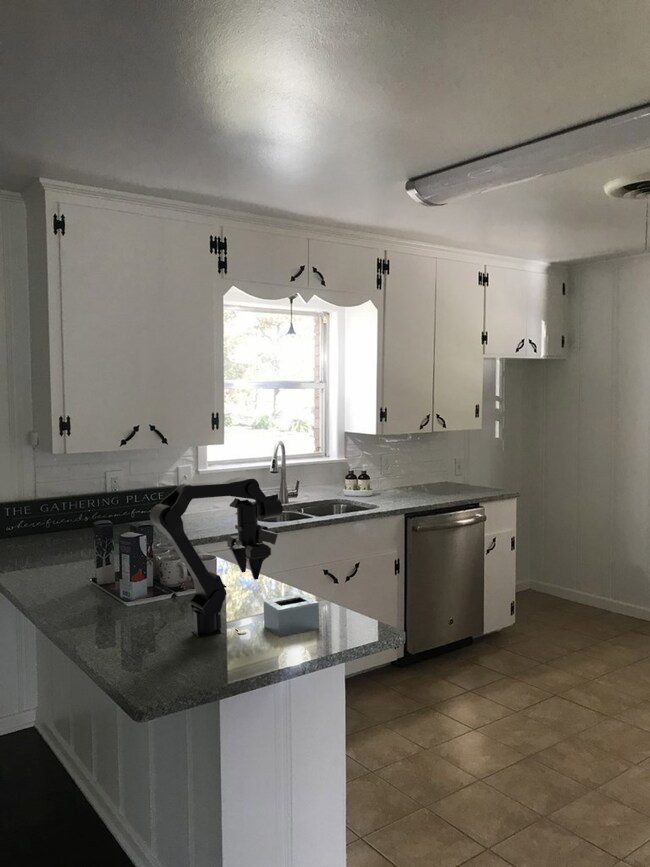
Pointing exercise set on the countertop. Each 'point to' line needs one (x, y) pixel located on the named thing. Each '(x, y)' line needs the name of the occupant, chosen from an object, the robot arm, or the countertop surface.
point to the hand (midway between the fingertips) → (249, 575)
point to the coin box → (291, 615)
